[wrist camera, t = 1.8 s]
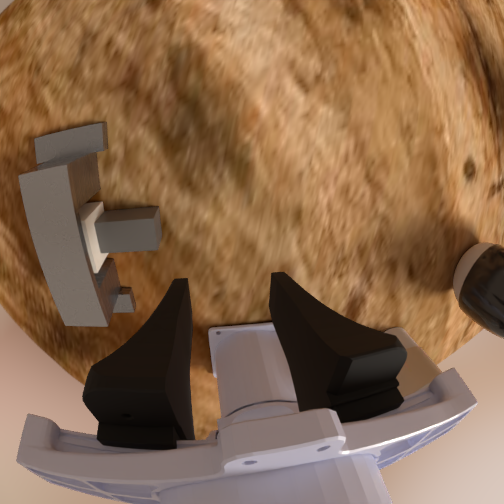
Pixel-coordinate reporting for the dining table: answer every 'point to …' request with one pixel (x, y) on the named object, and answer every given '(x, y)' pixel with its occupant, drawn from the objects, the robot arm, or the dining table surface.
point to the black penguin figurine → (482, 286)
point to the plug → (118, 230)
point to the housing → (71, 226)
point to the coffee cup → (414, 365)
